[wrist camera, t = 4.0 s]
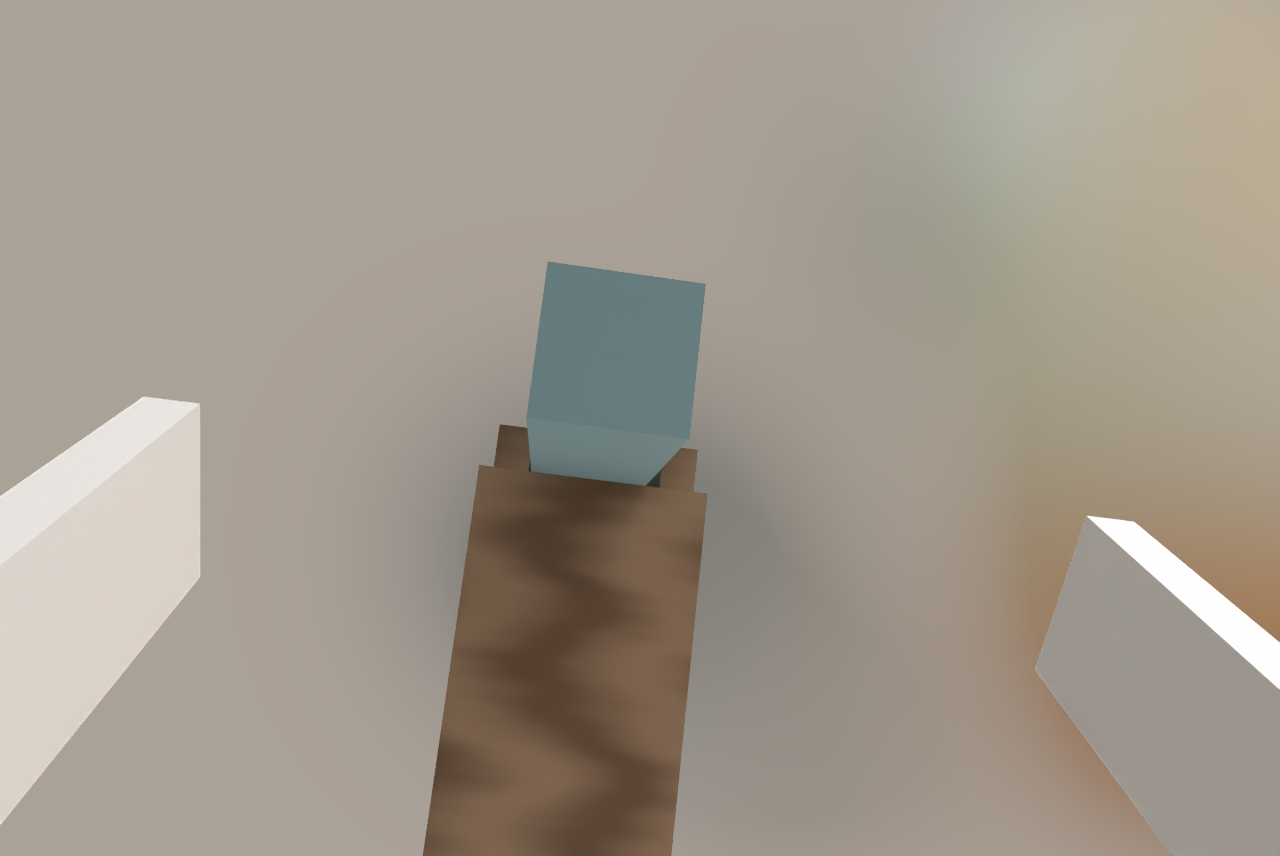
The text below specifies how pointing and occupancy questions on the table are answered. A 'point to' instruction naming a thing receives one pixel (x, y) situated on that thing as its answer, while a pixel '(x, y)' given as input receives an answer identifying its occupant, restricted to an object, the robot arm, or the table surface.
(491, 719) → the stand
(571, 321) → the rod
